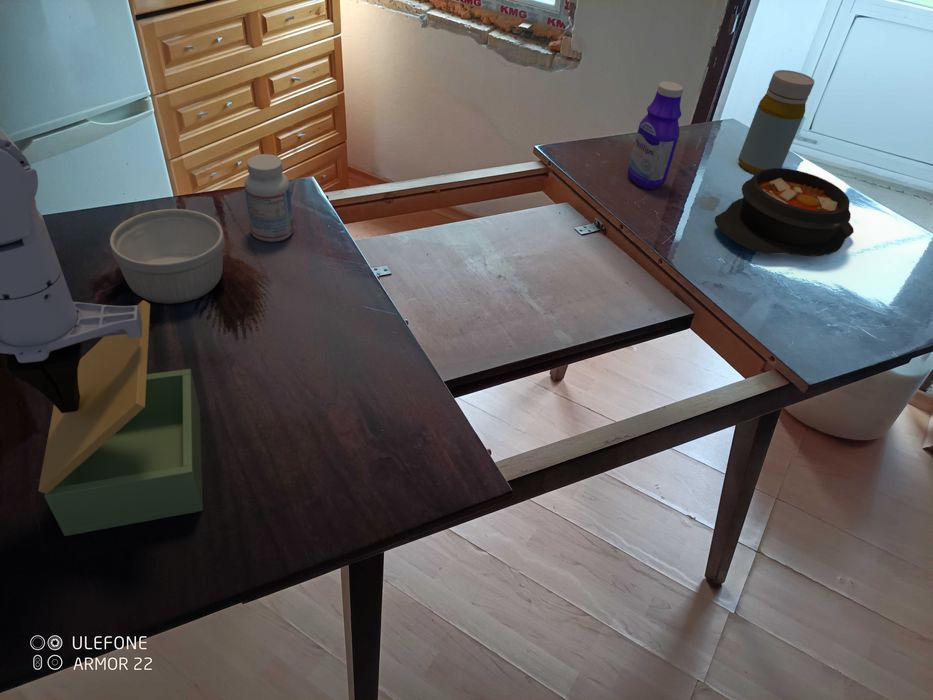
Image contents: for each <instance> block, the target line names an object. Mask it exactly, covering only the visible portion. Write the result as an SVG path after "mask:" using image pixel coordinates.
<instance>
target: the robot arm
mask: <svg viewBox="0 0 933 700" xmlns="http://www.w3.org/2000/svg"><path fill="white" fill-rule="evenodd" d="M38 188H39V177H38V173H37V170H36V169H35V168H31V164H30V163H29V161H28V159H27V158H26V156H25V155H24V154H23V152H22V151H21V150H20V149H19V147H18V146H17V145H16V144H15V143H14V141H13V140H12V139H11V138H10V136H9V135H8V134H7V133H6V132H5V130H4V129H3V128H2V127H1V126H0V354H4V355H5V354H6V363H5V368H6V370H7V372H8V373H9V375H10V376H11V377H14V378H16V379H18V380H21V381H23V382H25V383H27V384H28V385H30V386H32V387H34V389H36V390H38V391H39V392H40V393H41V394H42V395H44V396H45V397H46V398H47V399H48V400H49V401H50V402H51V403H52V404H53V406H54V405H55V406H56V407H57V408H58V409H59V411H60V412H61V413H68V412H75V411H78V408H79V401H80V393H79V387H78V365H79V361H80V359H81V357H82V356H81V355H82V350H83V349H82V348H83V343H84V342H86V341H88V340H91V339H96V338H97V339H98V338H103V337H106V336H115V335H124V334H127V337H128V338H130V339H132V338H140V337H142V324H143V323H142V319H141V316H140V312H139V308H138V306H137V305H138V304H137V305H109V304H99V303H91V302H80V301H73V298H72V295H71V292H70V289H69V287H68V284H67V281H66V278H65V276H64V273H63V270H62V266H61V264H60V261H59V259H58V255H57V253H56V250H55V247H54V244H53V242H52V239H51V236H50V233H49V230H48V228H47V225H46V222H45V219H44V216H43V215H42V213H41V212H40V211H39V210H38V207H37V202H36V195H37V192H38Z"/></svg>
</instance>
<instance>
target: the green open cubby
mask: <svg viewBox="0 0 933 700" xmlns="http://www.w3.org/2000/svg"><path fill="white" fill-rule="evenodd" d="M194 381H195V380H194V378H193V372H192V369H191V368H186V369H178V370H171V371H170V370H169V371H162V372H161V371H160V372H154V373H153V372H152V373H147V378H146V398H145V408H144V409H142V410H141V411H140V412H139V413H138V414H137V415H136V416H135V417H133V418H132V419H131V420H130V421H129V422H128V423H127V424H125V425H124V426H123V427H122V428H121V429H120V430H119V431H118V432H116V433H115V434H114V435H113V436H112V437H111V438H110V439H109V440H107V441H106V442H105V443H104V444H103V445H102V446H101V447H100V448H98V449H97V450H96V451H95V452H94V453H93V454H92V455H91V456H89V457H88V458H87V459H86V460H85V461H84V462H83V463H82V464H80V465H79V466H78V467H77V468H76V469H75V470H74V471H73V472H71V473H70V474H69V475H68V476H67V477H66V478H65V479H64V480H62V481H61V482H60V483H59V484H58V485H57V486H56V487H55V488H53V489H52V490H51V491H50V492H49V493H48V494H45V493H44V495H43V497H44V499H45V501H46V503H47V504H48V506H49V509H50V510H51V512H52V515H53V516H54V518H55V520H56V522H57V524H58V526H59V529H60V530H61V532H62V534H63V536H64V537H68V536H72V535H78V534H84V533H90V532H94V531H100V530H106V529H111V528H112V529H113V528H117V527H122V526H128V525H132V524H133V525H134V524H137V523H144V522H150V521H155V520H160V519H165V518H166V519H167V518H171V517H176V516H183V515H187V514H192V513H198V512H203V510H204V504H203V502H204V501H203V500H204V499H203V469H202V468H203V467H202V436H201V432H202V431H201V407H200V403H199V399H198V395H197V390H196V386H195V382H194Z"/></svg>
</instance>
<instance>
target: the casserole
mask: <svg viewBox="0 0 933 700" xmlns="http://www.w3.org/2000/svg"><path fill="white" fill-rule="evenodd" d="M741 193H742V196H743V197H742V198H739V199H737V200H735V201H733V202H732V203H730V205H729V206H728V207H727V208H726V209H725V210H724V211H722V212H721V213H719V214H717V215H716V216H715V217H714V223H715V225H716V227H717V228H718V229H719V230H720V231H721V232H722V233H723V234H724V235H725V236H726V237H727V238H728V239H730V240H732V241H733V242H735V243H737V244H738V245H740V246H742V247H744V248H746V249H748V250H751V251H753V252H756V253H758V254H763V255H764V254H765V255H793V256H802V257H822V256H828V255H829V256H830V255H832V254H834V253H837V252H838V251H839V250H840V249H842V247H843V245H844V244H845V241H846V239H848V238H849V237H850V236H852V235H853V234H854V227H853V225H852V224H851V223H850V221H851V218H852V217H851V216H852V215H851V211H850V199H849V197H848V195H847V194H846V193H845V191H843V190H842V189H841V188H840V187H839V186H837V185H835V184H834V183H832V182H830V181H828V180H827V179H824V178H822V177H819V176H818V175H814V174H811V173H809V172H804V171H801V170H796V169H791V168H771V169H764V170H761V171H759V172H757V173H756V174H753V176H752V177H751V178H750V179H748V180H746V181H745V182H744V183H743V184H742V185H741Z"/></svg>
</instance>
